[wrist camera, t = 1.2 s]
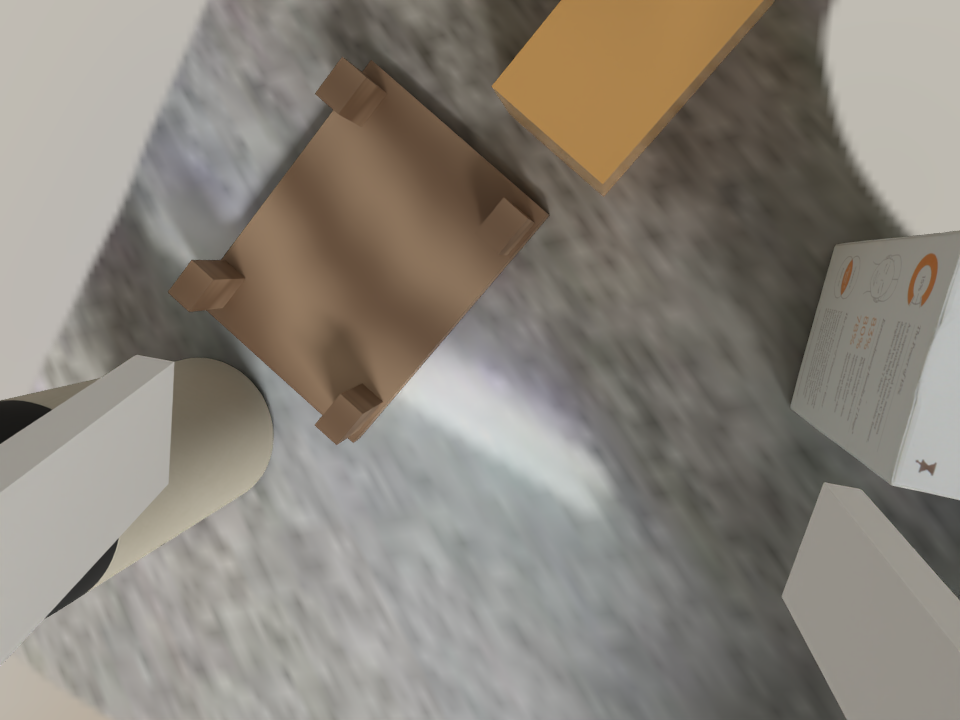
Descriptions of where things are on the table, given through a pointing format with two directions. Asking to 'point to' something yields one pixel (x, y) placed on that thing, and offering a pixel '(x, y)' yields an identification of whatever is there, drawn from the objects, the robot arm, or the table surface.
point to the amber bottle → (617, 75)
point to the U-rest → (364, 251)
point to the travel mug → (177, 456)
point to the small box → (889, 359)
